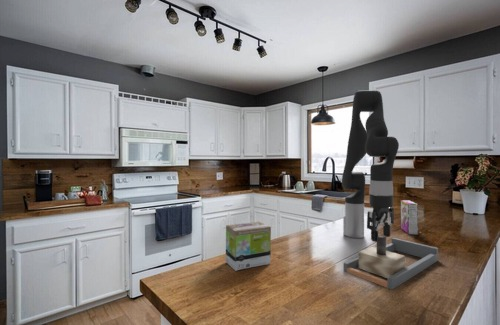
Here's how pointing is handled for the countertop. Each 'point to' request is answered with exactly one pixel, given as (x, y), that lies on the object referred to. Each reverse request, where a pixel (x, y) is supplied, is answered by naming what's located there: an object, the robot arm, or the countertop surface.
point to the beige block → (381, 260)
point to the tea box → (248, 245)
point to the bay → (416, 249)
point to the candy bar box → (409, 217)
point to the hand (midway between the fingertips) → (380, 238)
